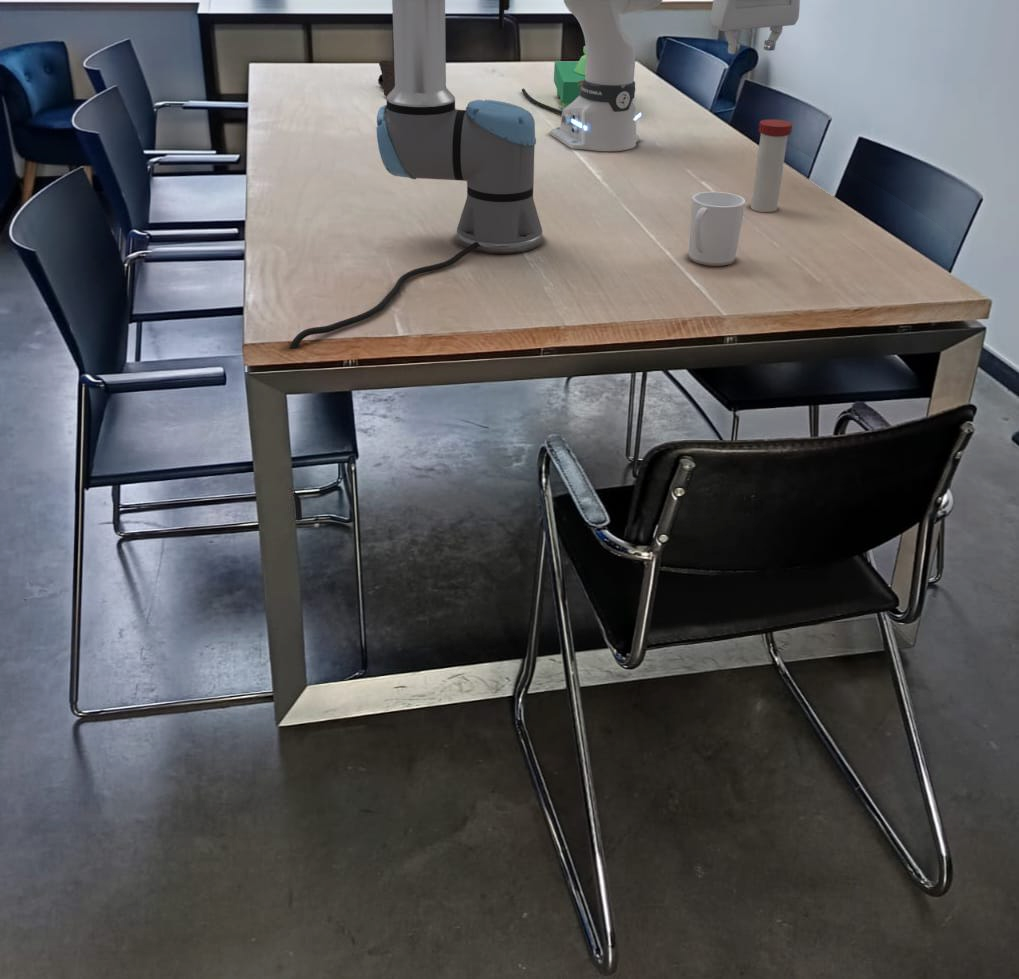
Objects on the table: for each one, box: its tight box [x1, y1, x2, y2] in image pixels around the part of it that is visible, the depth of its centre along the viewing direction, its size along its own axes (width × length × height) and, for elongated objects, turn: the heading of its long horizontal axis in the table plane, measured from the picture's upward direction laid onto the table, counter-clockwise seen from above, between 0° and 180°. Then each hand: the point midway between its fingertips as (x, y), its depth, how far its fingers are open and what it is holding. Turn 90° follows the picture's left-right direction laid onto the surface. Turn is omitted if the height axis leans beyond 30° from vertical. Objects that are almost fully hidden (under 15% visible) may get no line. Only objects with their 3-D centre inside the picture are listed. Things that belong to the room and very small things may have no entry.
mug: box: [687, 191, 747, 267], centre depth 186 cm, size 11×9×10 cm
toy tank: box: [553, 45, 586, 111], centre depth 289 cm, size 18×12×35 cm
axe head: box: [377, 59, 395, 97], centre depth 299 cm, size 18×8×15 cm
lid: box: [757, 118, 793, 136], centre depth 207 cm, size 6×6×2 cm
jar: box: [750, 133, 789, 213], centre depth 211 cm, size 5×5×16 cm
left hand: (468, 26), depth 224 cm, fingers open, 13 cm apart
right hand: (751, 51), depth 219 cm, fingers open, 8 cm apart
